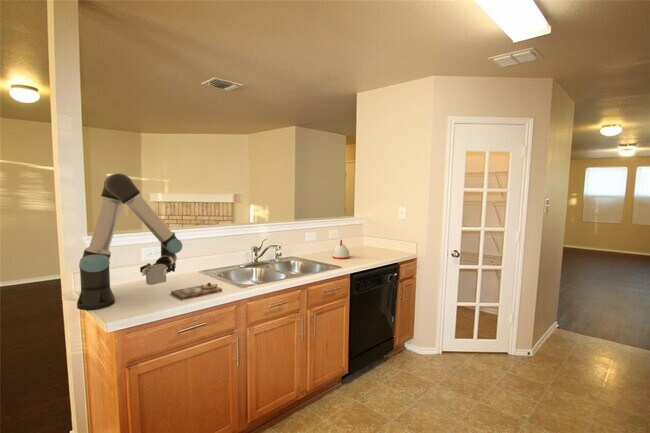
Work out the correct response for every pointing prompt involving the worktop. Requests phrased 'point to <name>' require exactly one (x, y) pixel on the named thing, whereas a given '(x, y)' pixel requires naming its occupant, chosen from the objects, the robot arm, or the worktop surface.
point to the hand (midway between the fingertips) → (153, 272)
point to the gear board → (196, 291)
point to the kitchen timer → (340, 252)
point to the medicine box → (155, 274)
